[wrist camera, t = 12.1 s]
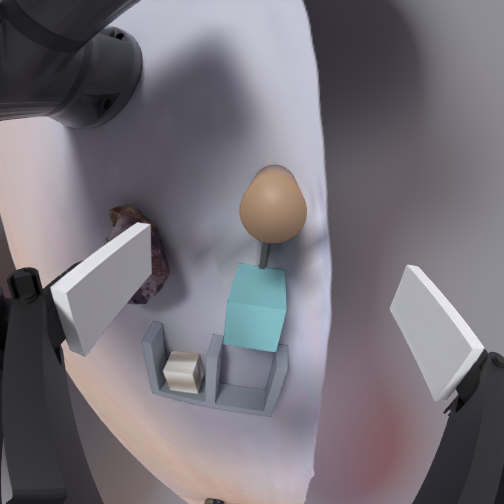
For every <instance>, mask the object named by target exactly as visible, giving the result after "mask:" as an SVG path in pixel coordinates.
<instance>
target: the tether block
mask: <svg viewBox="0 0 504 504" xmlns="http://www.w3.org/2000/svg"><path fill="white" fill-rule="evenodd" d="M306 215H307V207H306V202H305V200H304V197H303V195H302V193H301V191H300V189H299V187H298V184H297V182H296V180H295V178H294V176H293V175H292V173H291V172H290V171H289V170H288V169H286V168H285V167H282V166H279V165H270V166H267V167H264V168H263V169H261V170H260V171H259V172H258V173H257V175H256V176H255V178H254V179H253V181H252V183H251V184H250V186H249V187H248V189H247V191H246V192H245V194H244V196H243V198H242V200H241V203H240V218H241V221H242V224H243V226H244V227H245V229H246V230H247V231H248V233H249V234H250V235H252V236H253V237H254V238H256V239H258V240H260V241H263V246H262V253H261V259H260V266H254V265H248V264H241V263H239V265H238V268H237V271H236V275H235V278H234V281H233V285H232V288H231V291H230V294H229V298H228V301H227V310H226V321H225V331H224V342H223V344H225V345H231V346H237V347H243V348H250V349H256V350H263V351H271V352H276V350H277V346H278V342H279V338H280V334H281V330H282V326H283V322H284V318H285V314H286V282H285V270H280V269H274V268H267V267H265V264H266V258H267V251H268V245H269V243H281V242H285V241H287V240H289V239H291V238H293V237H294V236H295V235H296V234H297V233H298V232H299V231H300V230H301V229H302V227H303V225H304V223H305V220H306Z"/></svg>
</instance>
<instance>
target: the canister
mask: <svg viewBox="0 0 504 504" xmlns="http://www.w3.org/2000/svg"><path fill="white" fill-rule="evenodd" d="M205 504H224V502H222V501H219V500H214V499H206V500H205Z"/></svg>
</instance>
